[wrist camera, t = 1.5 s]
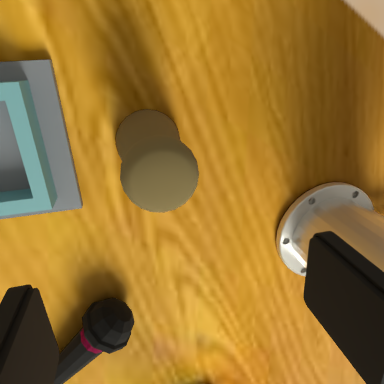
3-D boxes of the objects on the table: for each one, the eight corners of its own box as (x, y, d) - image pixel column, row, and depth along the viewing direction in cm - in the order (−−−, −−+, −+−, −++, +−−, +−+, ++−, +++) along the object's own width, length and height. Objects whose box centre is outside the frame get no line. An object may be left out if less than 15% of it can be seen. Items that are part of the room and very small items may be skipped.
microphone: (46, 378, 41) (137, 290, 36) (47, 427, 37) (149, 337, 32) (3, 380, 38) (97, 282, 32) (-1, 434, 34) (106, 334, 28)
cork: (192, 146, 30) (228, 187, 20) (144, 184, 30) (156, 243, 20) (152, 95, 27) (171, 113, 17) (101, 137, 28) (90, 179, 18)
